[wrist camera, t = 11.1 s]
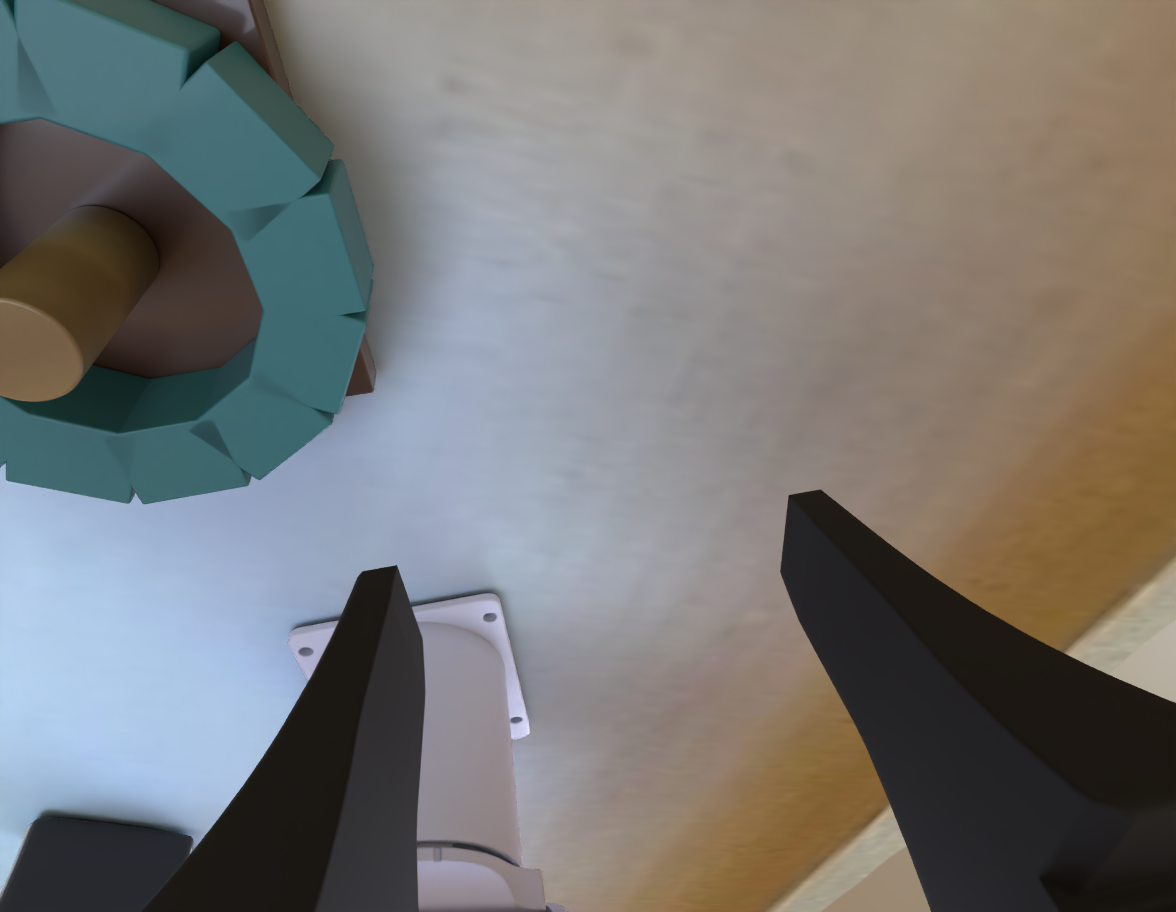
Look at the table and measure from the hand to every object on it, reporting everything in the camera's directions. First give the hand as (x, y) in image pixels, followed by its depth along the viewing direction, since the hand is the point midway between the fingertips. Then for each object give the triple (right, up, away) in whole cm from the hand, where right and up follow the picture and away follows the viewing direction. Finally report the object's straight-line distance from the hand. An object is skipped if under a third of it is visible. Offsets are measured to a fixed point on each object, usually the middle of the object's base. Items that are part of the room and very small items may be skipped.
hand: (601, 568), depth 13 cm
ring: (-11, +7, +4) cm, 14 cm away
